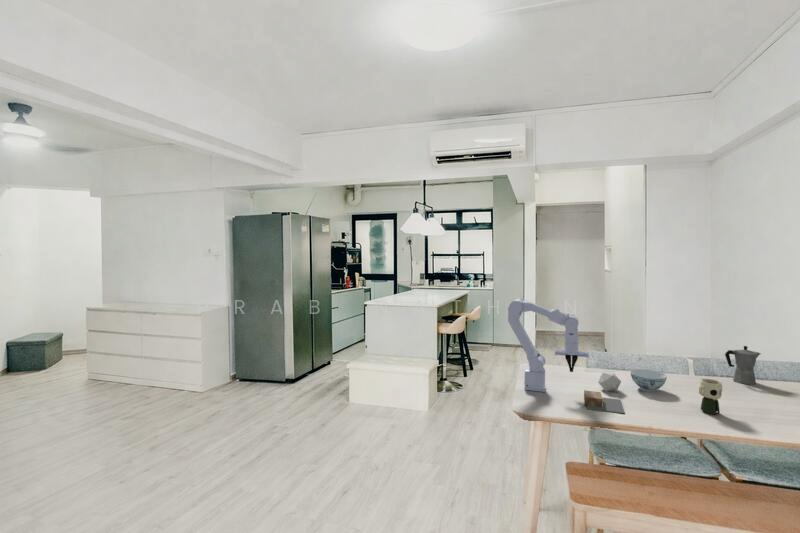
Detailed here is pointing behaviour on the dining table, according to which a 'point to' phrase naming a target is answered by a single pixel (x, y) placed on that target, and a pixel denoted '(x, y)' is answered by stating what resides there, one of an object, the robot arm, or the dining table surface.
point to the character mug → (710, 395)
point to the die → (609, 381)
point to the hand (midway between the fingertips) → (571, 371)
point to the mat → (609, 406)
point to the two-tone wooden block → (593, 398)
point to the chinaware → (648, 379)
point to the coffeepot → (743, 365)
